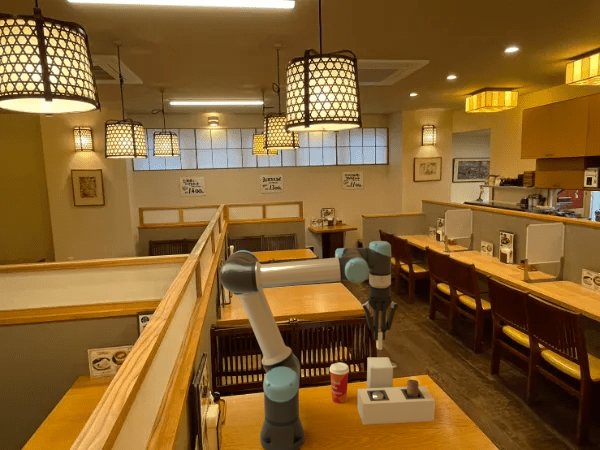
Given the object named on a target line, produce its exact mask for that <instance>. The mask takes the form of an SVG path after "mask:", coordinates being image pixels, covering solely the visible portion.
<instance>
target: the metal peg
mask: <svg viewBox="0 0 600 450" xmlns="http://www.w3.org/2000/svg"><path fill="white" fill-rule="evenodd" d="M372 399H373V400H374V399H383V393H381V392H378V391H376V392H373V393H372Z"/></svg>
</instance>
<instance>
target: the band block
mask: <svg viewBox="0 0 600 450" xmlns="http://www.w3.org/2000/svg"><path fill="white" fill-rule="evenodd" d="M376 391H378V392H381V393H383V399H374V400H373V399H372V393H373V392H376ZM435 406H436V400H435V398H434V396H432V394H431V393H430V391H429V389H428V388H427V386H426V385H418V397H415V398H408V397H407V386H393V387H388V388H367V387H366V388H357V411H358V413H359V414H358V415H359V416H360V420H361V422H362V426H364V425H383V424H385V425H386V424H387V425H388V424H401V423H421V422H435V410H436V409H435Z"/></svg>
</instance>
